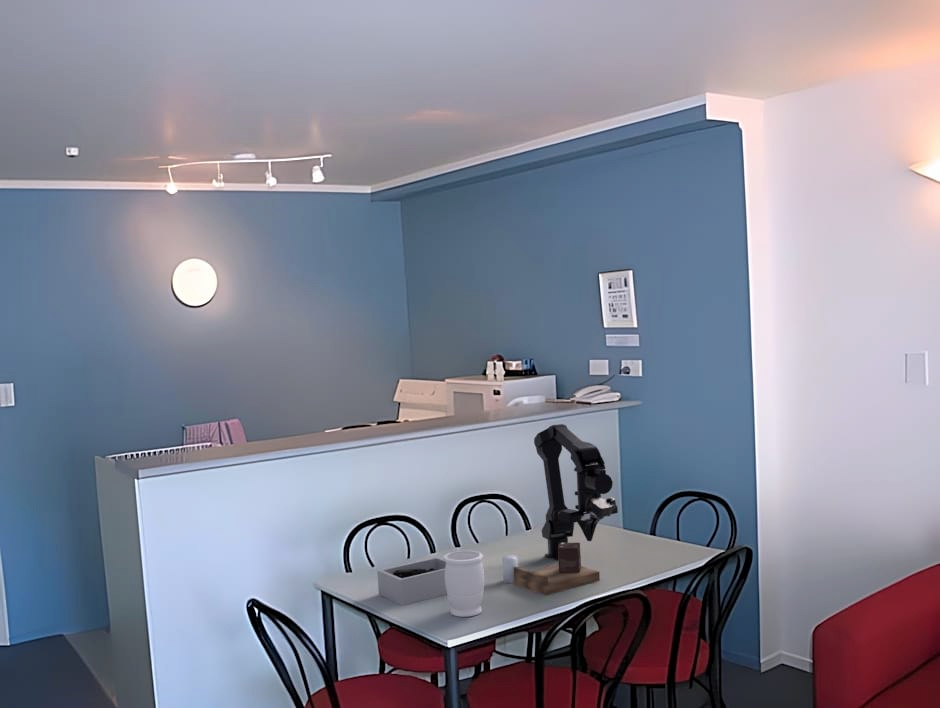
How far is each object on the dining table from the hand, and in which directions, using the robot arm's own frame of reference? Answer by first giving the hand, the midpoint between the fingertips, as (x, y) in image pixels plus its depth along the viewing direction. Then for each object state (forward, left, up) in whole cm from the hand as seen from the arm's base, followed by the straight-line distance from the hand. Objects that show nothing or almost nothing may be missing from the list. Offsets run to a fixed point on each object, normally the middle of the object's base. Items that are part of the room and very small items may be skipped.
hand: (589, 540), depth 264 cm
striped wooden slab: (0, -13, -10) cm, 16 cm away
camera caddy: (-19, -47, -10) cm, 52 cm away
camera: (-19, -47, -11) cm, 52 cm away
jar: (+4, -47, -10) cm, 48 cm away
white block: (-10, -22, -10) cm, 26 cm away
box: (0, -8, -7) cm, 11 cm away
